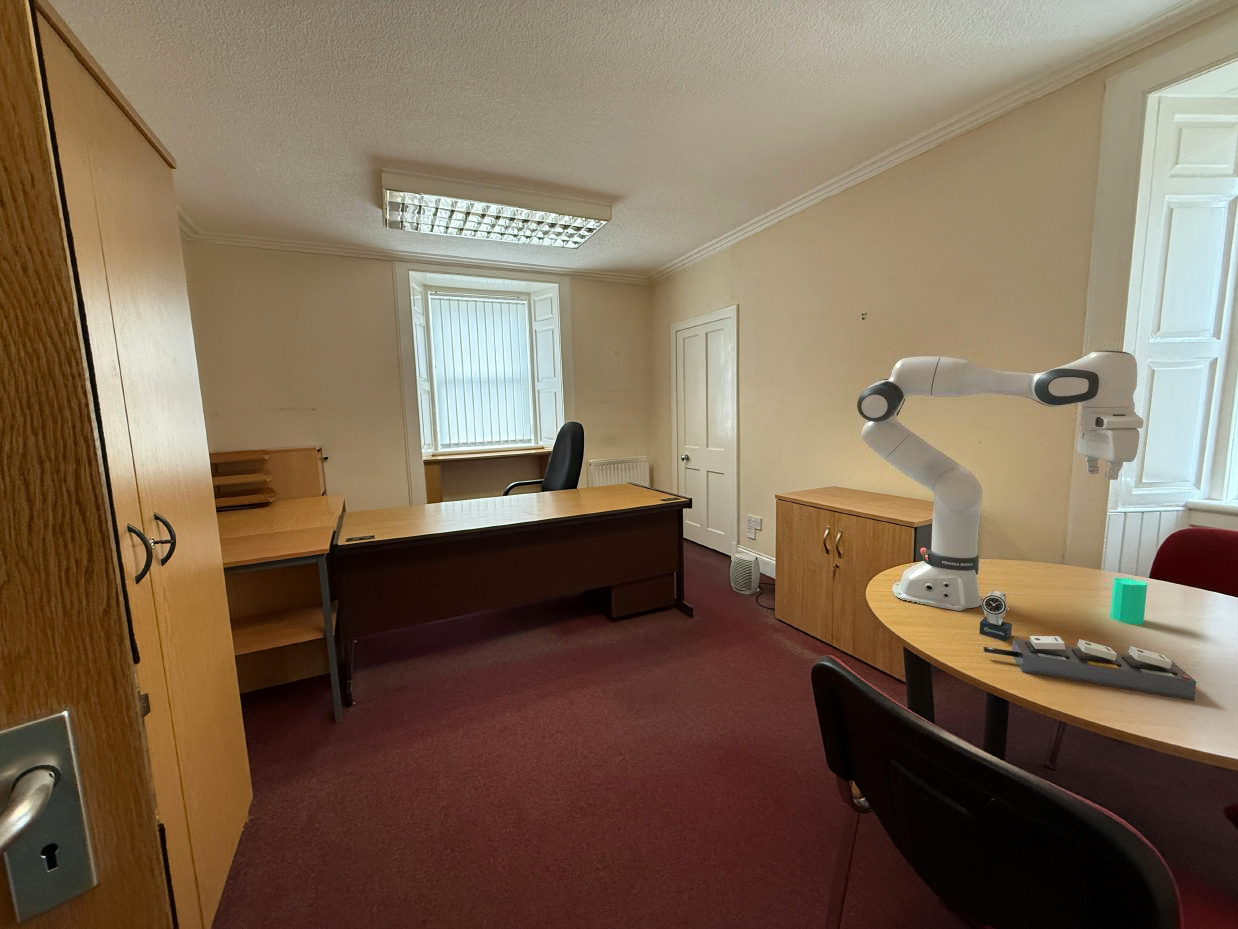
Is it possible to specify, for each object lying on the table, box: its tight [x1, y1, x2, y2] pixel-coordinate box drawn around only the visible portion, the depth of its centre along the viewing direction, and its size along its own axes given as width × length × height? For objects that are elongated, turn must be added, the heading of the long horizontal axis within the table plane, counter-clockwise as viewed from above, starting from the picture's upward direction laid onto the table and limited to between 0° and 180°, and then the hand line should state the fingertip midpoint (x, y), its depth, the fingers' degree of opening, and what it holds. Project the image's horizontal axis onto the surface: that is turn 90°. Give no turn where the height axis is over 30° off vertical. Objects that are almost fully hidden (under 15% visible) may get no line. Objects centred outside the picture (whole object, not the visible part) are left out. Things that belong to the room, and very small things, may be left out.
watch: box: [978, 590, 1013, 642], centre depth 119 cm, size 6×8×11 cm
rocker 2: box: [1077, 638, 1117, 660], centre depth 100 cm, size 5×3×2 cm, turn 63°
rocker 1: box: [1029, 635, 1066, 649], centre depth 104 cm, size 5×3×2 cm, turn 63°
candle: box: [1109, 574, 1148, 626], centre depth 124 cm, size 6×6×12 cm
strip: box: [983, 637, 1197, 702], centre depth 102 cm, size 32×8×4 cm, turn 63°
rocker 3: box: [1128, 645, 1172, 669], centre depth 97 cm, size 5×3×2 cm, turn 63°
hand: (1101, 476), depth 115 cm, fingers open, 8 cm apart
